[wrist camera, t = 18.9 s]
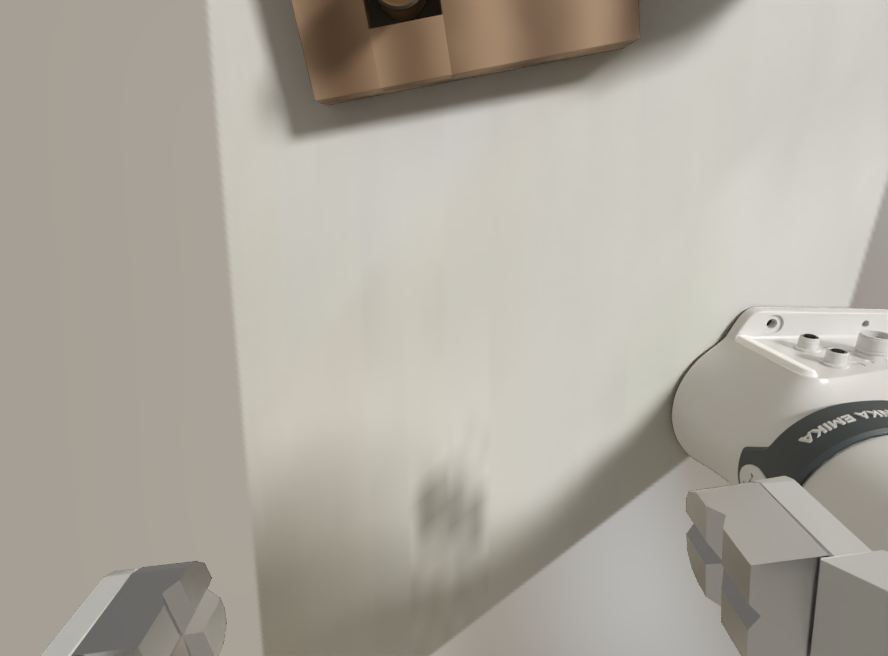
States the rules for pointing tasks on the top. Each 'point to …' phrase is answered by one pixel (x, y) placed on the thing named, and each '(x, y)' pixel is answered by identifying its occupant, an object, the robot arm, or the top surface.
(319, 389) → the top surface
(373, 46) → the walnut board
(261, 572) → the top surface
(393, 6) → the oak peg
